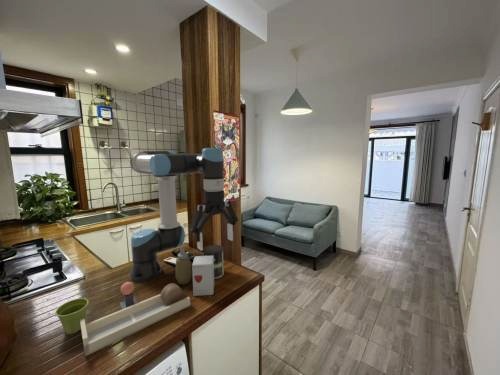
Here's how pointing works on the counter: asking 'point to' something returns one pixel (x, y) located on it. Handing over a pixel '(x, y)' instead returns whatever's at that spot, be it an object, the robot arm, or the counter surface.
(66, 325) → the plant pot
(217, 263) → the coffee can
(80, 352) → the counter surface
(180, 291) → the hump
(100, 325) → the tray
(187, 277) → the squeeze bottle
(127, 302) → the tee
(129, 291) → the ball
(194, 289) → the supplement box
